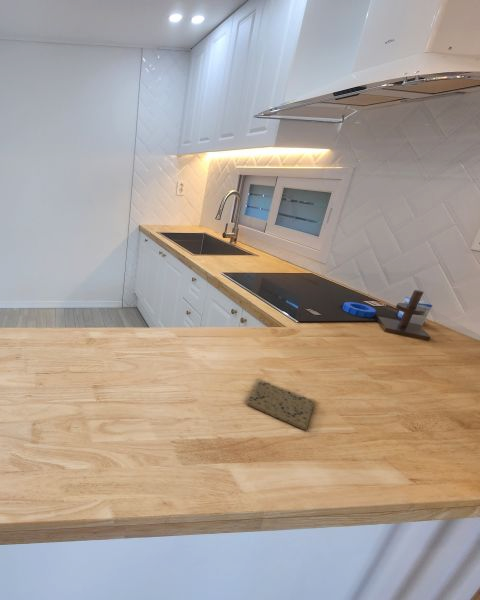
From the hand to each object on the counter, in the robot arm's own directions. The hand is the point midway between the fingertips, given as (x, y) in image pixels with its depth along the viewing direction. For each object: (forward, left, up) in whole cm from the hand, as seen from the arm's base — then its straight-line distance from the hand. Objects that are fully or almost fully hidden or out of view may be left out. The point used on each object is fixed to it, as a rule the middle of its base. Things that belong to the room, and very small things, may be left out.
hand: (475, 241), depth 117 cm
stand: (+14, +17, -32) cm, 39 cm away
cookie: (+53, +91, -32) cm, 110 cm away
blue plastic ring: (+25, +6, -32) cm, 41 cm away
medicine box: (+8, +4, -32) cm, 33 cm away
